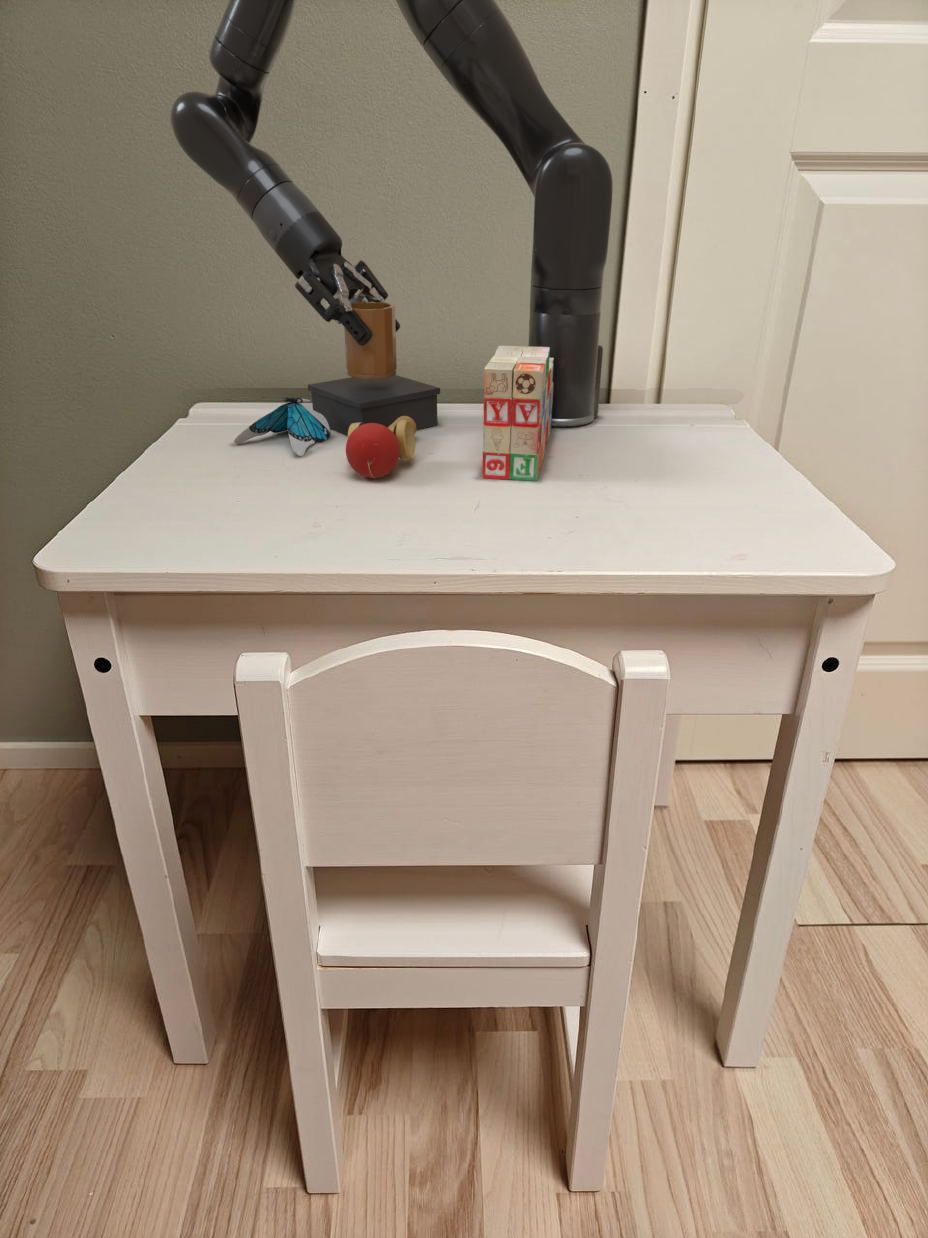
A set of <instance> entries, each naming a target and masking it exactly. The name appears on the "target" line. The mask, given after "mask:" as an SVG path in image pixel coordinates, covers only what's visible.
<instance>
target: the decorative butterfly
mask: <svg viewBox="0 0 928 1238" xmlns="http://www.w3.org/2000/svg"><path fill="white" fill-rule="evenodd" d="M264 398H265V399H266V398H268V397H266V396H264ZM282 402H285V403H284V404H281V405H280V406H278V407H277V408H275V409H273V410H272V411H270V412H268V413H267V414H266V415H264V416H262V417H260V418H258V419H257V420H255V421H254V422H253V423H251V424H250V425H249V426H248V427H246V428H245V429H244V430H243V431H242V432H240V433H239V434H238V435H237V436H236V437H235V438H234V440H233V443H234V444H235V445H238V444H241V443H244V442H246V441H248V440H251V439H254V438H257V437H260V436H264V435H266V434H268V433H270V432H271V433H273V434H279V433H283V432H287V433H288V438H289V444H290V447H291V449H292V450H293V452H294V453H295V454H296V455H297V456H299V457H302V456H304V454H305V453H306V450H307V449H308V447H310V446H311V445H313V444H315V440H316V441H318V442H326V441H327V440H328V439H330V437H331V428H330V427H329V425H328V422H327V420H326V418H325V417H324V416H323V415H322V414H320V413H318V412H316V411H314V410H313V408H311V407H309V406H308V405H306V404H307V403H312V399H307V398H302V397H295V396H294V397H286V396H285V398H283V400H282Z"/></svg>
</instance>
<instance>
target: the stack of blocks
mask: <svg viewBox="0 0 928 1238" xmlns="http://www.w3.org/2000/svg"><path fill="white" fill-rule="evenodd" d="M549 354H550V347H528V346H523V345H522V346H520V345H519V346H517V345H516V346H515V345H498V347H497V348H496V350H495V353H494V354H493V356H492V357H491V358H490V360H489V361H488V363H486V365H485V367H484V371H483V407H482V409H483V412H482V413H483V416H482V420H483V422H482V423H483V424H482V425H483V442H482V444H483V447H482V449H483V450H482V469H481V470H482V475H481V476H482V478H483V479H495V480H514V481H515V480H516V481H529V482H536V481H537V479H538V477H539V474H540V472H541V469H542V466H543V462H544V458H545V451H546V448H547V447H546V446H547V442H548V441H549V438H550V435H551V430H552V426H551V422H552V404H553V366H554V358H549Z"/></svg>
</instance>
